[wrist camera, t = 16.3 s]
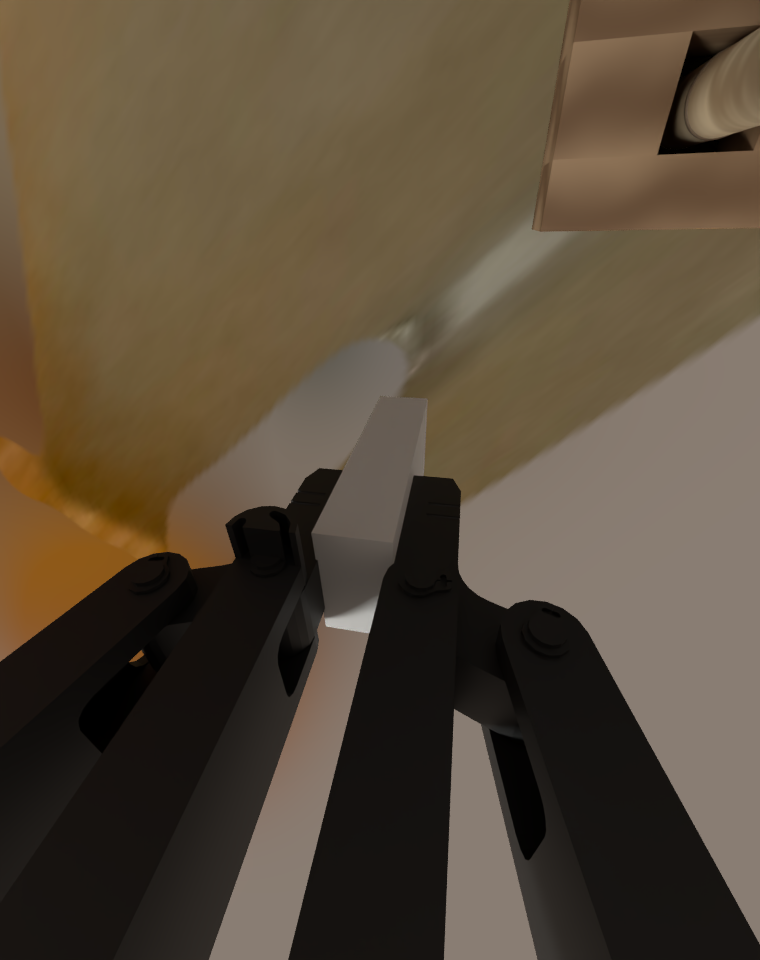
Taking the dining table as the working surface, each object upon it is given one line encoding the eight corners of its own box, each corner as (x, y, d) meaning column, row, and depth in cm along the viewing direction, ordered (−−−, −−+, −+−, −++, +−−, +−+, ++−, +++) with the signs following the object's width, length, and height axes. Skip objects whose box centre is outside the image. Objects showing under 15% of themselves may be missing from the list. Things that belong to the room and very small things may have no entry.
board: (573, -22, 22) (593, -69, 19) (915, -63, 20) (1018, -127, 16) (531, 229, 29) (540, 231, 25) (782, 224, 26) (832, 226, 23)
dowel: (665, 72, 24) (845, -58, 12) (735, 67, 23) (995, -77, 12) (643, 152, 26) (780, 104, 14) (707, 149, 25) (903, 97, 14)
